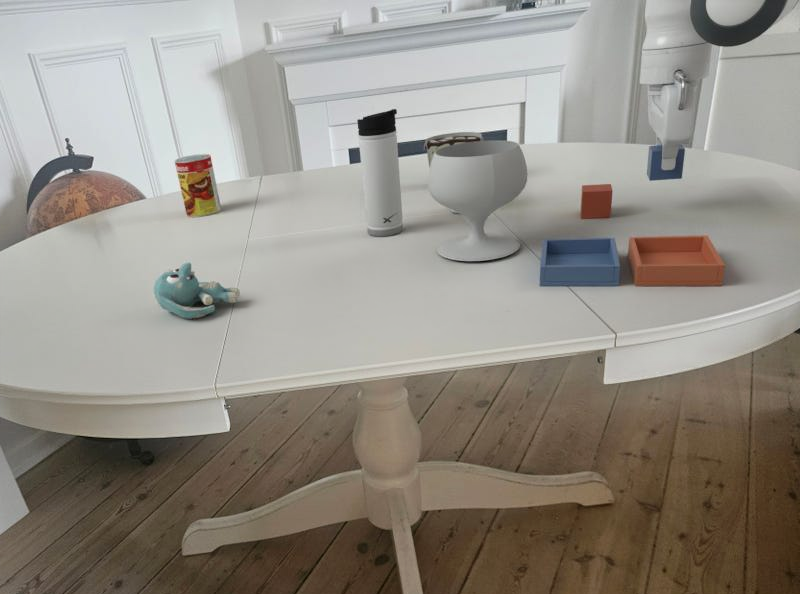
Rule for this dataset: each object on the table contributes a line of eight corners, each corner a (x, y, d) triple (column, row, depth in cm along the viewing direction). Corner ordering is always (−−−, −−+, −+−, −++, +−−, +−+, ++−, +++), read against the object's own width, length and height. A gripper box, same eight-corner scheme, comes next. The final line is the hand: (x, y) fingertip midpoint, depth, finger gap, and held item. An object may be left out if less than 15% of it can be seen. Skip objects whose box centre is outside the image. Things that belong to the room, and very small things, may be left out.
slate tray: (613, 255, 87) (614, 237, 86) (618, 286, 78) (620, 266, 76) (542, 256, 90) (543, 239, 89) (539, 286, 81) (540, 266, 80)
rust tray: (704, 254, 83) (707, 235, 82) (721, 286, 74) (725, 265, 73) (627, 255, 86) (629, 237, 85) (634, 286, 77) (636, 265, 76)
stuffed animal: (229, 281, 81) (138, 272, 82) (229, 331, 85) (142, 322, 85) (246, 254, 91) (165, 247, 91) (246, 300, 94) (167, 293, 95)
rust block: (608, 210, 105) (611, 183, 103) (610, 217, 102) (612, 190, 100) (580, 211, 107) (582, 185, 105) (580, 218, 103) (582, 191, 101)
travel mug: (396, 237, 107) (387, 112, 98) (361, 236, 110) (349, 115, 101) (410, 226, 112) (402, 106, 102) (376, 225, 115) (366, 109, 106)
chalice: (540, 257, 90) (543, 148, 83) (443, 271, 90) (439, 164, 83) (507, 231, 102) (508, 134, 95) (422, 243, 102) (417, 148, 95)
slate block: (677, 172, 99) (680, 143, 97) (681, 178, 96) (685, 148, 94) (646, 174, 101) (649, 145, 99) (649, 180, 97) (652, 151, 95)
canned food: (184, 212, 145) (172, 158, 140) (218, 205, 147) (207, 152, 141) (189, 219, 138) (176, 163, 133) (224, 212, 140) (213, 156, 135)
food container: (483, 177, 138) (482, 129, 133) (484, 183, 132) (484, 133, 128) (426, 182, 140) (423, 135, 136) (425, 188, 135) (423, 140, 130)
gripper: (713, 71, 82) (699, 178, 88) (688, 59, 98) (678, 150, 105) (658, 77, 84) (649, 182, 90) (643, 64, 101) (636, 153, 107)
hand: (665, 164), depth 97 cm, fingers closed on slate block, 4 cm apart
